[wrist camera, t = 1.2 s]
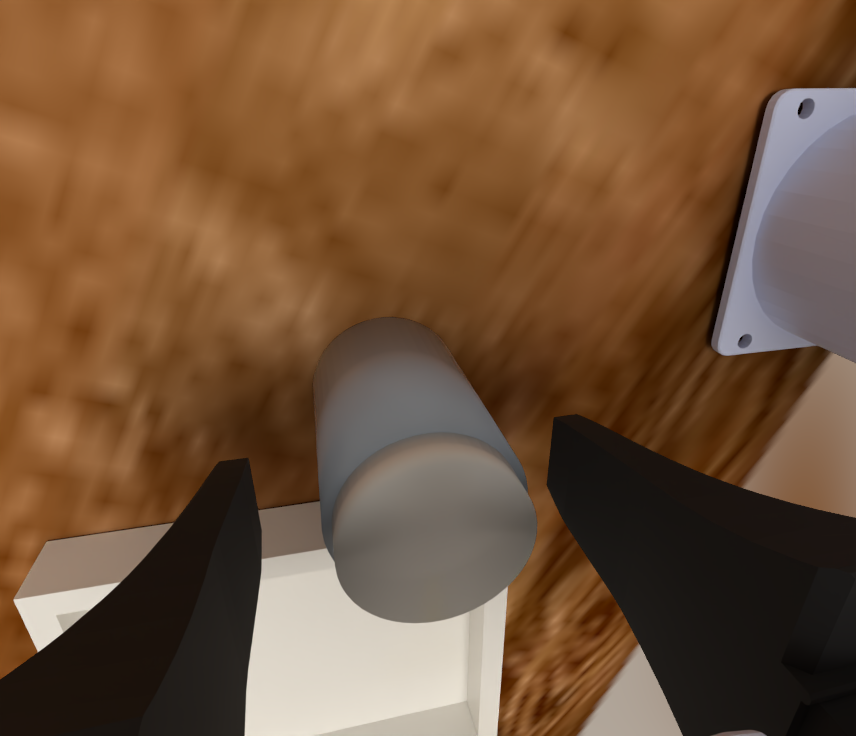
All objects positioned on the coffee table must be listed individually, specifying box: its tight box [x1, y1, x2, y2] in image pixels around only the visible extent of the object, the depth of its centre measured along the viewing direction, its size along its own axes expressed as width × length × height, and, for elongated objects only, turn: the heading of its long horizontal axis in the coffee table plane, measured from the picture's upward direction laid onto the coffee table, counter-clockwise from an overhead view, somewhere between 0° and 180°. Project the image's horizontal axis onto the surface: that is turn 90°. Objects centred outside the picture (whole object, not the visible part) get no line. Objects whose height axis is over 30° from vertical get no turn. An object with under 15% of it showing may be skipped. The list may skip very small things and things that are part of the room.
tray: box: [13, 501, 508, 736], centre depth 19 cm, size 14×12×2 cm
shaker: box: [313, 317, 537, 623], centre depth 14 cm, size 4×4×7 cm
